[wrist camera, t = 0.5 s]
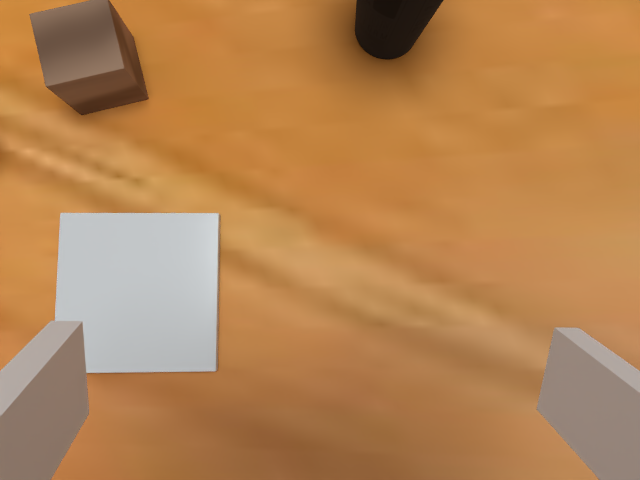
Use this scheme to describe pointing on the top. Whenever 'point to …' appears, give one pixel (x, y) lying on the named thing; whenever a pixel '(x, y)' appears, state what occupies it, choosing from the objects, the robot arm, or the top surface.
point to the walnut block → (88, 56)
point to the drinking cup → (391, 25)
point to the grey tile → (141, 289)
